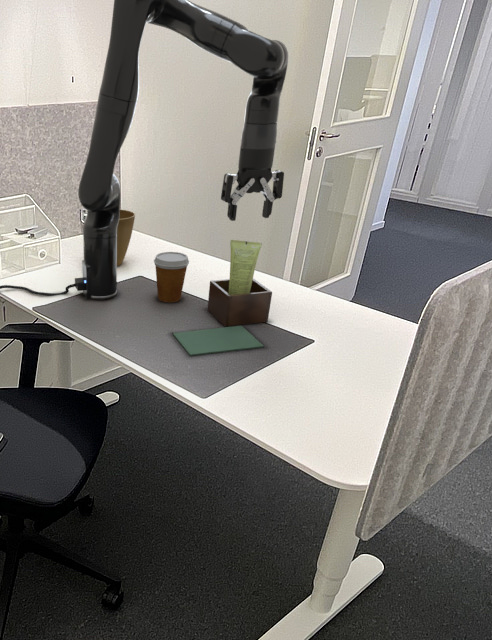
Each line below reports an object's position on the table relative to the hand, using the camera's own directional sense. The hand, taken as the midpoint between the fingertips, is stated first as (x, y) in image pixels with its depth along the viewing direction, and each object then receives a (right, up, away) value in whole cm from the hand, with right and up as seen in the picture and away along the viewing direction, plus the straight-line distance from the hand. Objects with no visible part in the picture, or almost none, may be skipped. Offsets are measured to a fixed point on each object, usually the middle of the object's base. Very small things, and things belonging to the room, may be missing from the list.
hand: (248, 218), depth 136 cm
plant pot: (-30, +2, +52) cm, 61 cm away
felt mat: (-8, -29, 0) cm, 30 cm away
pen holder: (+1, -21, +13) cm, 25 cm away
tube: (+1, -21, +13) cm, 25 cm away
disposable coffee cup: (-15, -15, +24) cm, 32 cm away
